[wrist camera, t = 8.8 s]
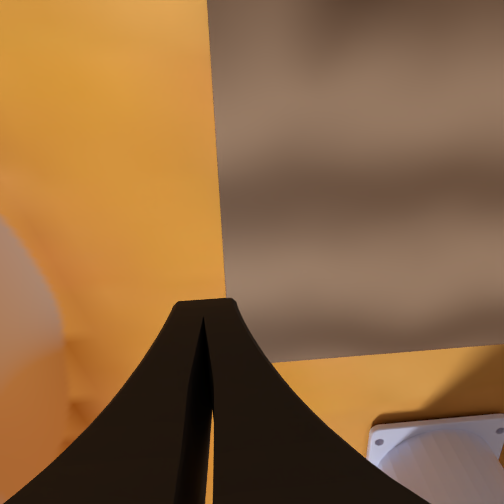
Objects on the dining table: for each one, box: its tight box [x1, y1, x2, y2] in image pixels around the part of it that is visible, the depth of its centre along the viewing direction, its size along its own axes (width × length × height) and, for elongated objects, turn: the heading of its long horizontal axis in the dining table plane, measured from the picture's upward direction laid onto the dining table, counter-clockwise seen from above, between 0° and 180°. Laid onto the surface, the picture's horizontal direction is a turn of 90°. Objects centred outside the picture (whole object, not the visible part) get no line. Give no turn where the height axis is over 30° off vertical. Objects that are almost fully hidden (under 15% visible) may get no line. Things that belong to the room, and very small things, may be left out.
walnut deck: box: [207, 0, 504, 363], centre depth 18 cm, size 14×13×2 cm
